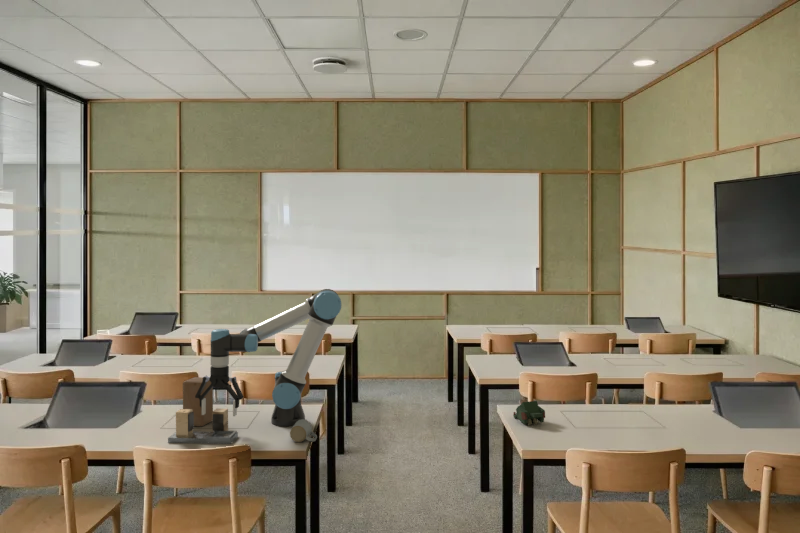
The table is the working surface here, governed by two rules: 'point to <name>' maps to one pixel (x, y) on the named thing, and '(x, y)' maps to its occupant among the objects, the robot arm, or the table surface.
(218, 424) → the finger block
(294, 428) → the ceramic mug
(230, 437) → the grey base plate
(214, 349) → the robot arm
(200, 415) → the wooden block
